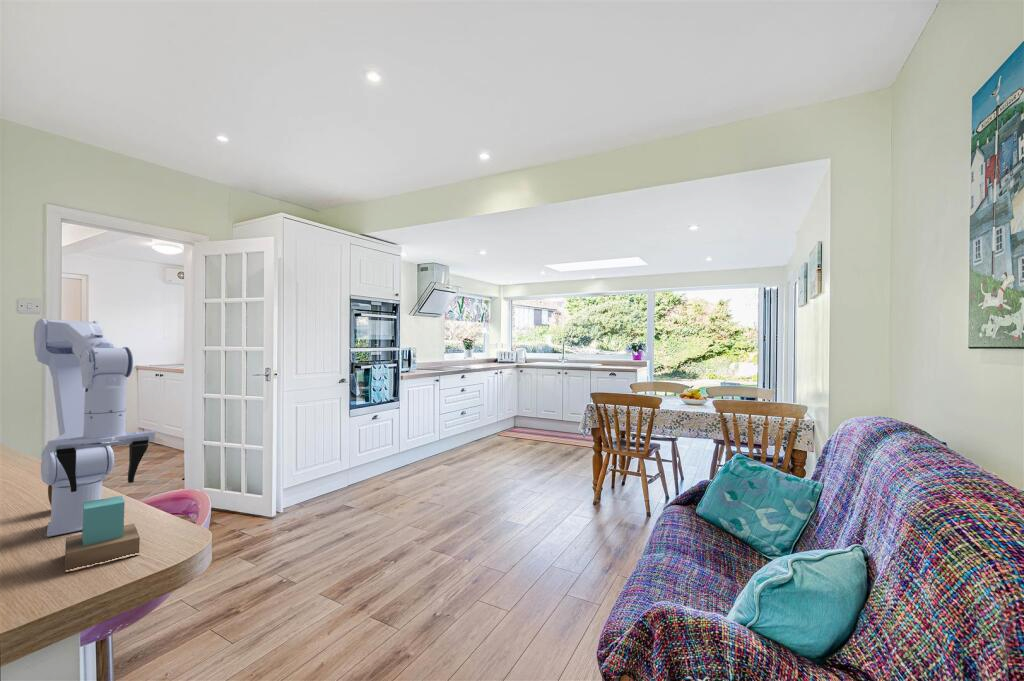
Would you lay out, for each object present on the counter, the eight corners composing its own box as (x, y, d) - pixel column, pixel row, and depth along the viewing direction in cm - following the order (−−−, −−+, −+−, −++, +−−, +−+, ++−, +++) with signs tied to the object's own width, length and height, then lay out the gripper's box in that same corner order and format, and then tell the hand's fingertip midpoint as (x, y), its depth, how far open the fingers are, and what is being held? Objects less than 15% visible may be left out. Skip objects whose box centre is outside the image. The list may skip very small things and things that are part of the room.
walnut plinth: (65, 555, 76) (65, 537, 76) (133, 539, 82) (134, 523, 82) (64, 573, 69) (65, 553, 69) (139, 555, 76) (139, 537, 76)
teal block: (82, 537, 76) (83, 502, 76) (120, 529, 79) (121, 495, 80) (82, 545, 72) (84, 509, 73) (123, 537, 76) (124, 502, 76)
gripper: (47, 417, 73) (44, 499, 73) (158, 410, 84) (156, 481, 83) (49, 414, 78) (46, 491, 78) (153, 407, 89) (151, 475, 88)
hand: (103, 486), depth 81 cm, fingers open, 7 cm apart
